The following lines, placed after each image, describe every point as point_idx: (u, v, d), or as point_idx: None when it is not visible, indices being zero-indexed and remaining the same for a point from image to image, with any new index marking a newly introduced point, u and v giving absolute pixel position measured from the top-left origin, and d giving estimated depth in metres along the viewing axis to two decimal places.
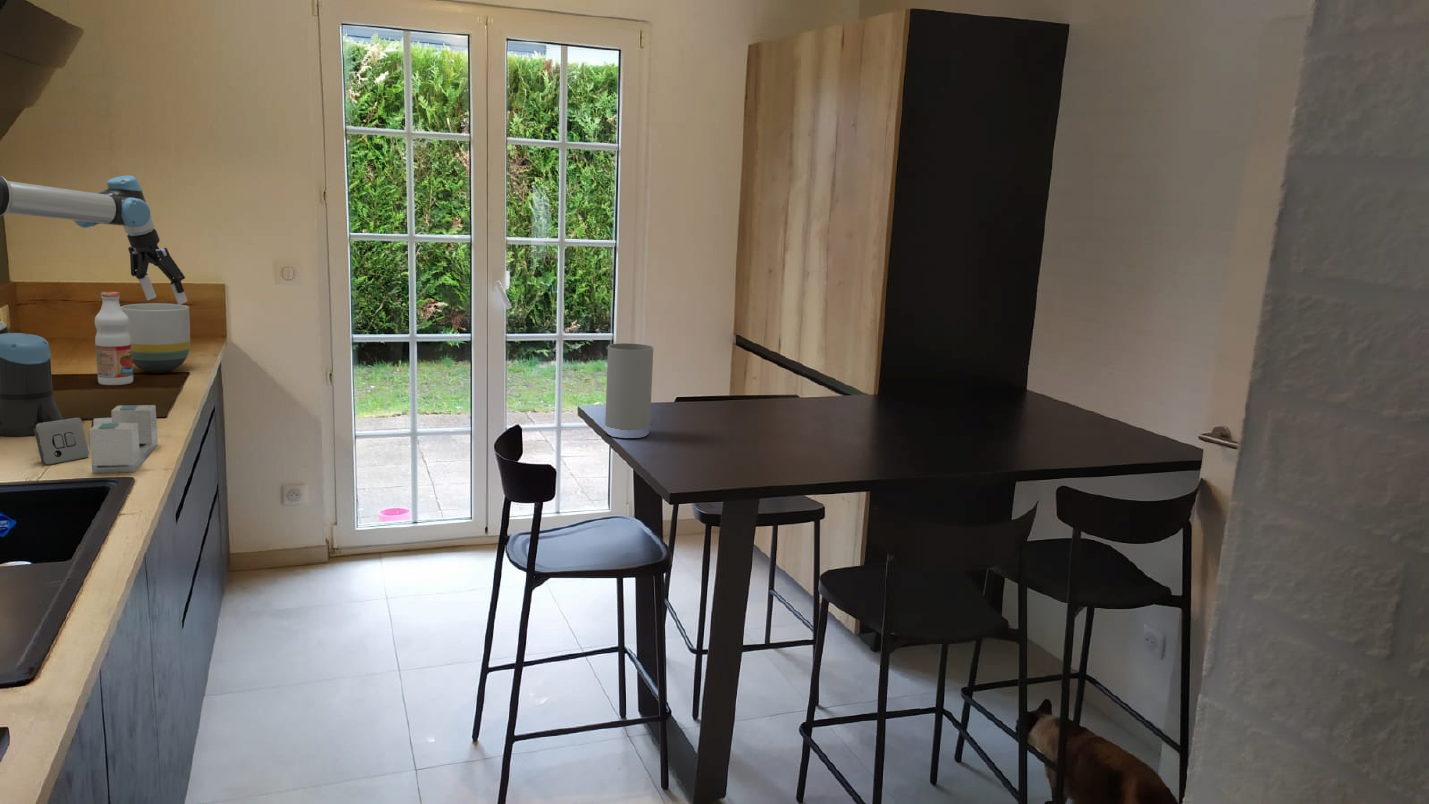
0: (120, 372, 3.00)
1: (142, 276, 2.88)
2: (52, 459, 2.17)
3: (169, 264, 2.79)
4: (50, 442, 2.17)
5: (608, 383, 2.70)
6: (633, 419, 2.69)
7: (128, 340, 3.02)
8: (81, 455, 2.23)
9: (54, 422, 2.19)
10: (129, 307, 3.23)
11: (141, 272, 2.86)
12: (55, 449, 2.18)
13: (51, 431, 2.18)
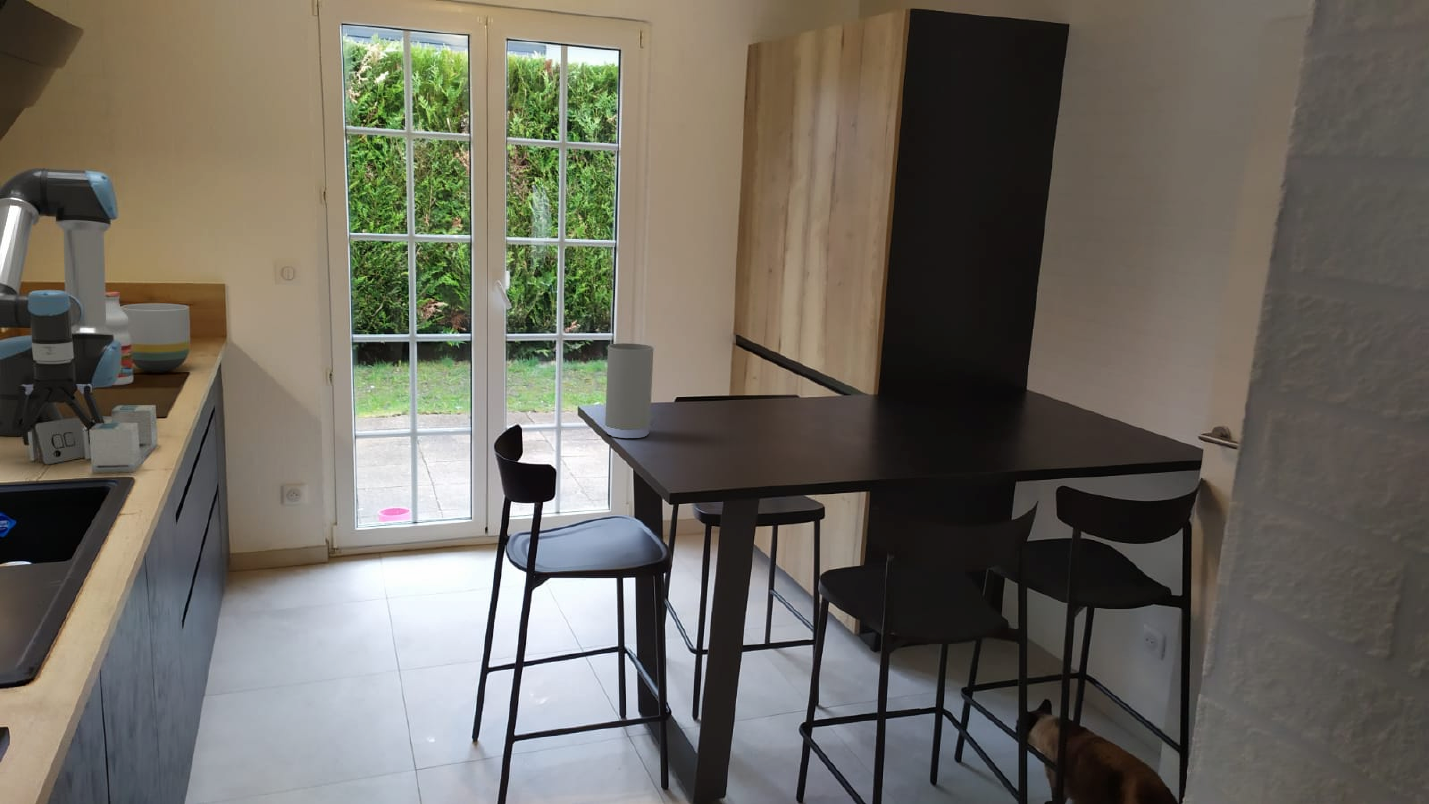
0: (120, 372, 3.00)
1: None
2: (51, 459, 2.17)
3: None
4: (49, 442, 2.17)
5: (608, 383, 2.70)
6: (633, 419, 2.69)
7: (128, 340, 3.02)
8: (80, 455, 2.23)
9: (53, 422, 2.19)
10: (129, 307, 3.23)
11: None
12: (54, 449, 2.18)
13: (50, 431, 2.18)
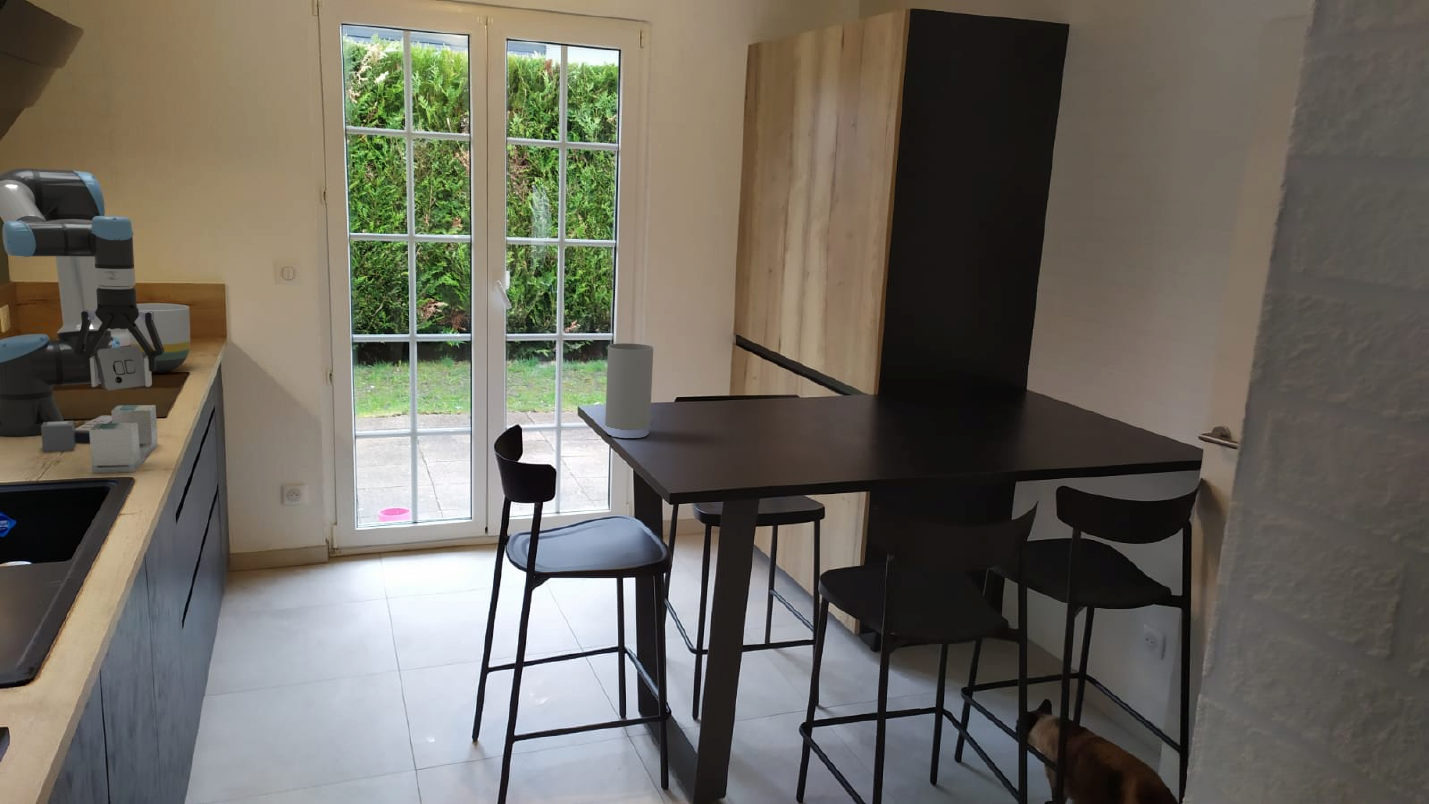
0: None
1: None
2: (113, 385, 2.18)
3: None
4: (111, 368, 2.18)
5: (608, 383, 2.70)
6: (633, 419, 2.69)
7: (128, 340, 3.02)
8: (140, 383, 2.23)
9: (115, 348, 2.20)
10: None
11: None
12: (116, 375, 2.19)
13: (112, 357, 2.19)
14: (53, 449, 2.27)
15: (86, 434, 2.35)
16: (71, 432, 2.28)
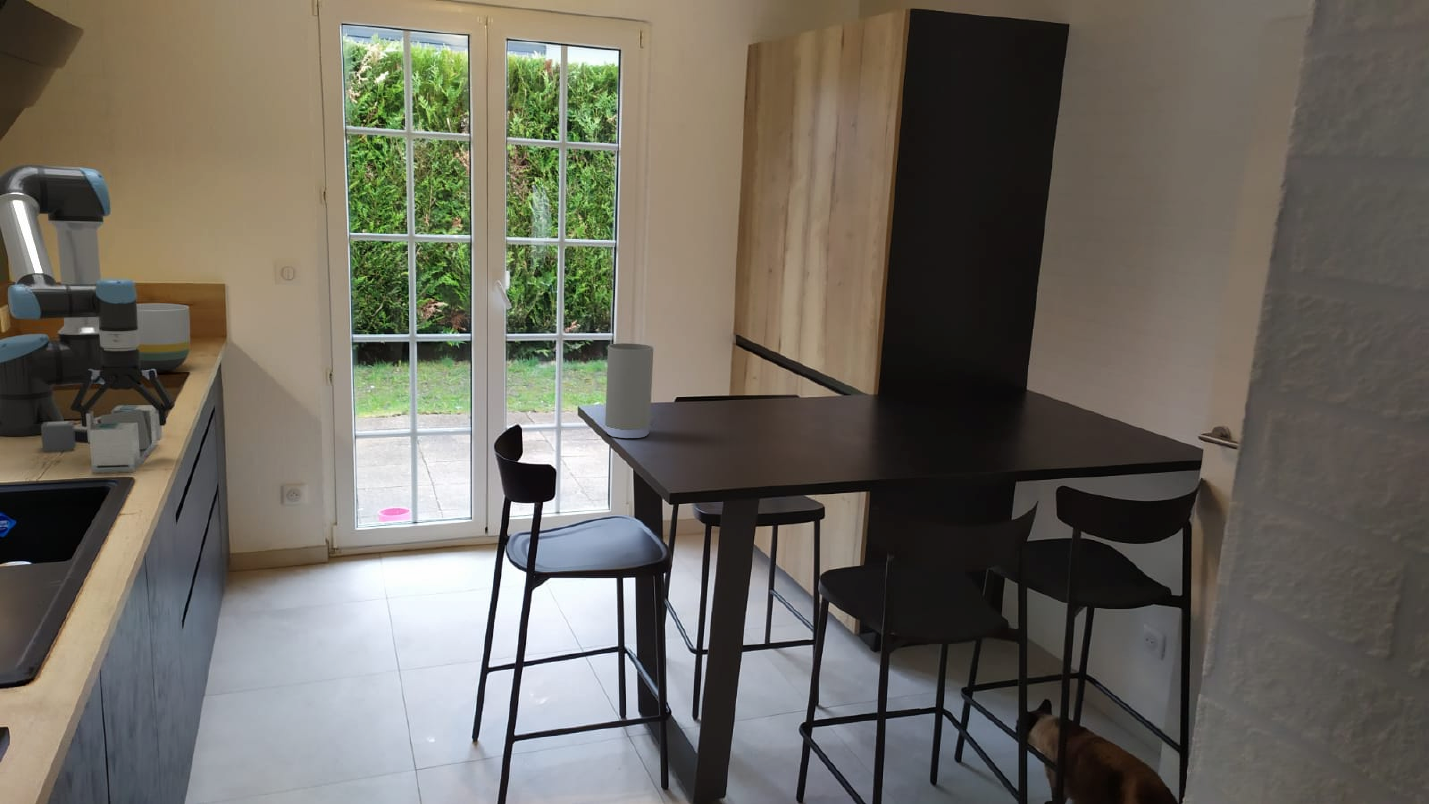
0: None
1: None
2: None
3: None
4: None
5: (608, 383, 2.70)
6: (633, 419, 2.69)
7: None
8: (143, 446, 2.26)
9: (117, 413, 2.22)
10: None
11: None
12: None
13: (114, 422, 2.22)
14: (53, 449, 2.27)
15: (79, 433, 2.36)
16: (71, 432, 2.28)
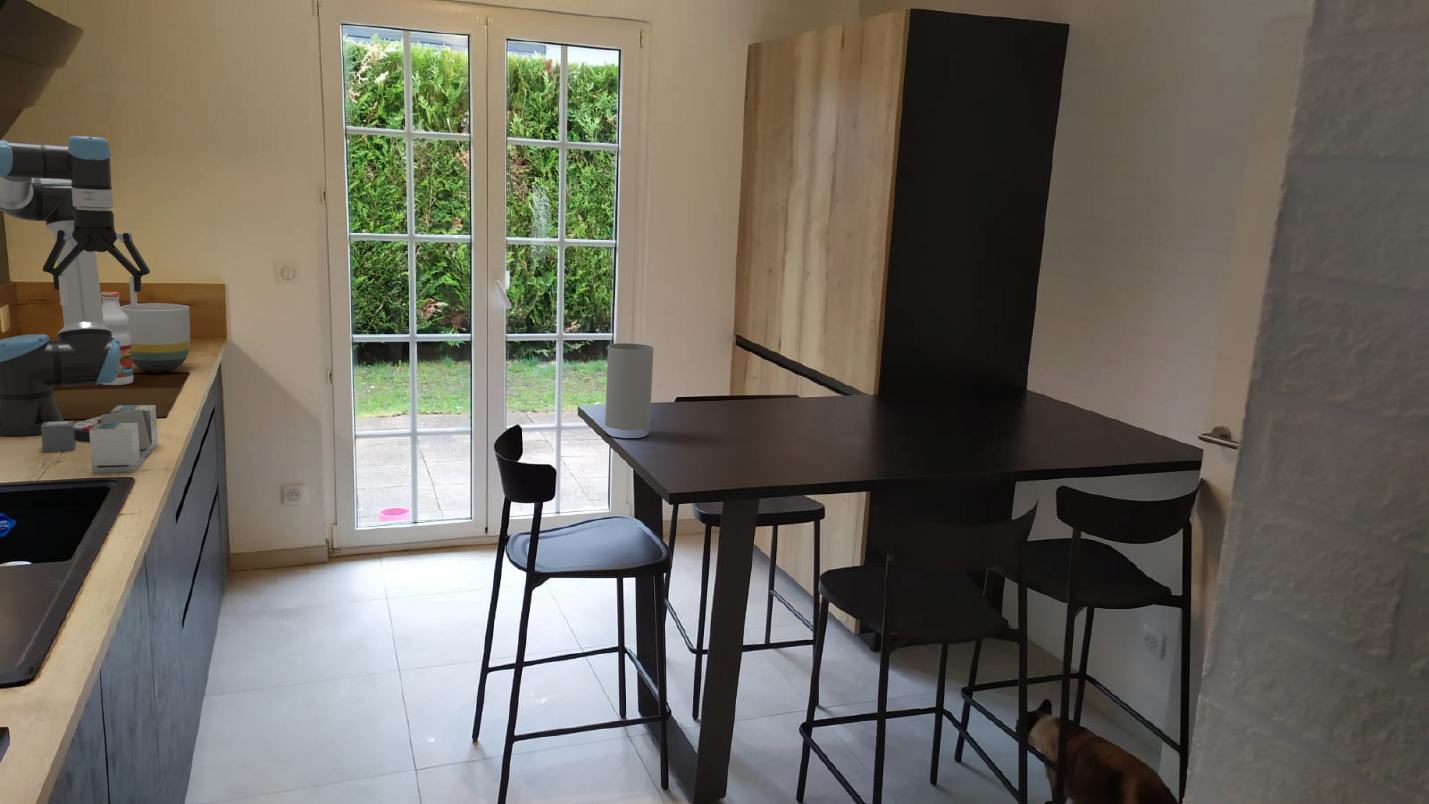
0: (120, 372, 3.00)
1: None
2: None
3: None
4: None
5: (608, 383, 2.70)
6: (633, 419, 2.69)
7: (128, 340, 3.02)
8: (143, 446, 2.26)
9: (117, 413, 2.23)
10: (129, 307, 3.23)
11: None
12: None
13: (114, 422, 2.22)
14: (53, 449, 2.27)
15: None
16: (71, 432, 2.28)
